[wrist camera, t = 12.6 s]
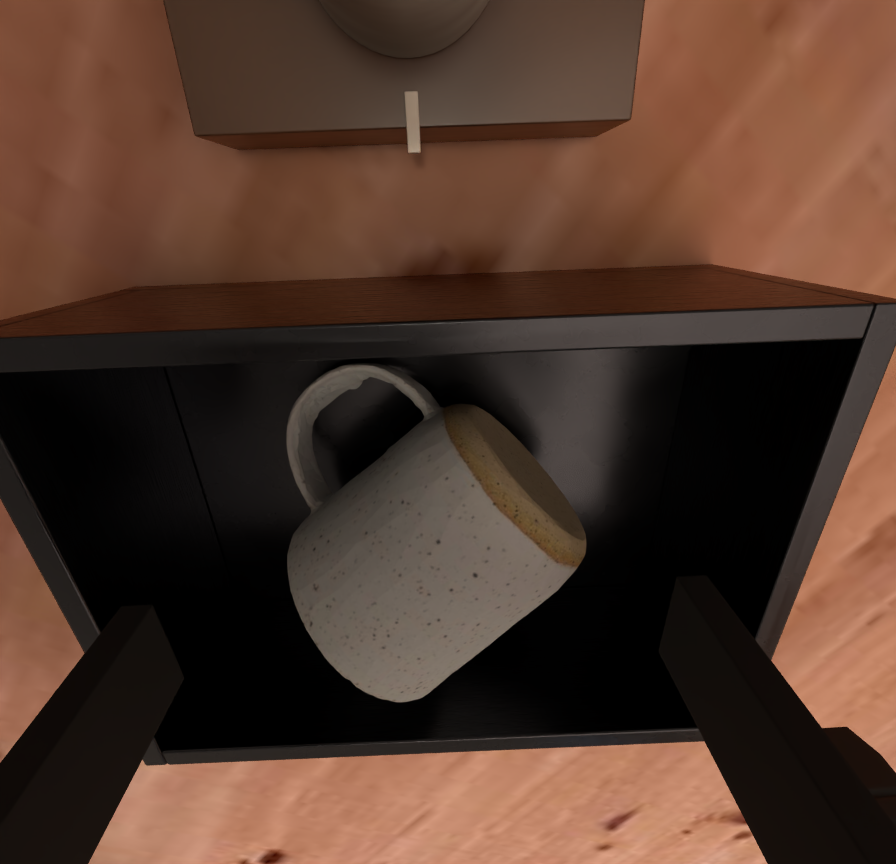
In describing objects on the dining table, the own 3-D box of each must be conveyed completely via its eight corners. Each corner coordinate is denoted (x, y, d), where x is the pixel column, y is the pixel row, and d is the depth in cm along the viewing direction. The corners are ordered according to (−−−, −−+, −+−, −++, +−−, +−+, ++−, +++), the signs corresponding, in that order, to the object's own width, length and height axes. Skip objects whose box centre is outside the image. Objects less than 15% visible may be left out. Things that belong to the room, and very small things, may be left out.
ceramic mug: (570, 477, 20) (640, 618, 13) (437, 582, 22) (435, 748, 15) (387, 299, 17) (347, 356, 10) (255, 443, 19) (145, 574, 12)
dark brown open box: (233, 598, 24) (145, 766, 17) (134, 286, 17) (-89, 341, 10) (648, 581, 24) (740, 740, 17) (713, 264, 17) (914, 301, 10)
